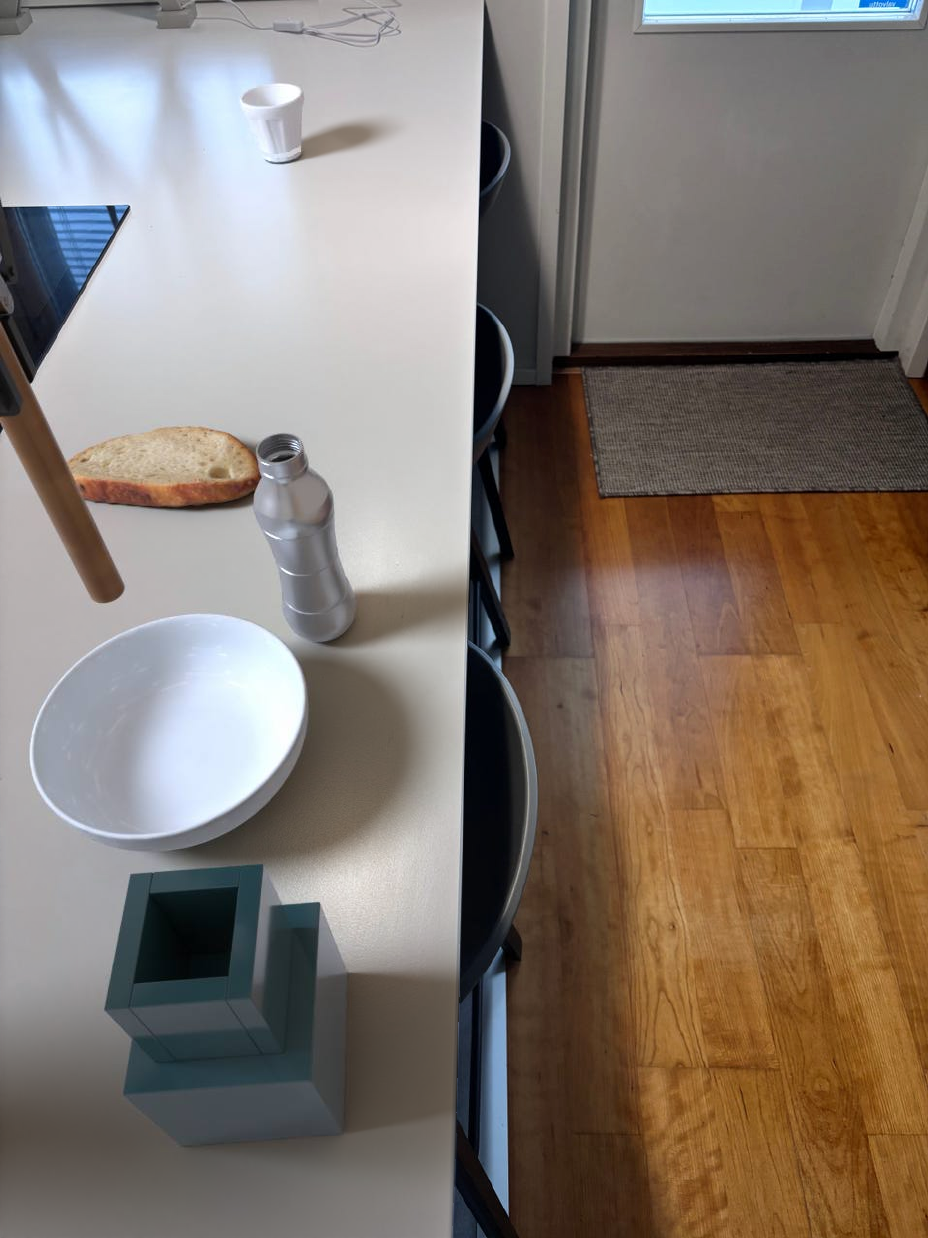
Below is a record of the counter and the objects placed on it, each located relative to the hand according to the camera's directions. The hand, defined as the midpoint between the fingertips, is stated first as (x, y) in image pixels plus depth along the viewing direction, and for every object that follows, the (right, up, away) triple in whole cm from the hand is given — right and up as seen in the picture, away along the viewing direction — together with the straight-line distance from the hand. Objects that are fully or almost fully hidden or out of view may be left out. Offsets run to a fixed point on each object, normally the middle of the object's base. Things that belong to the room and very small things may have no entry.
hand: (10, 395), depth 50 cm
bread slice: (-8, +3, +51) cm, 52 cm away
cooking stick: (+1, -10, +11) cm, 15 cm away
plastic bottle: (+11, -12, +36) cm, 40 cm away
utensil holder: (+11, -40, +11) cm, 43 cm away
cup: (-5, +63, +104) cm, 122 cm away
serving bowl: (+2, -24, +27) cm, 36 cm away
